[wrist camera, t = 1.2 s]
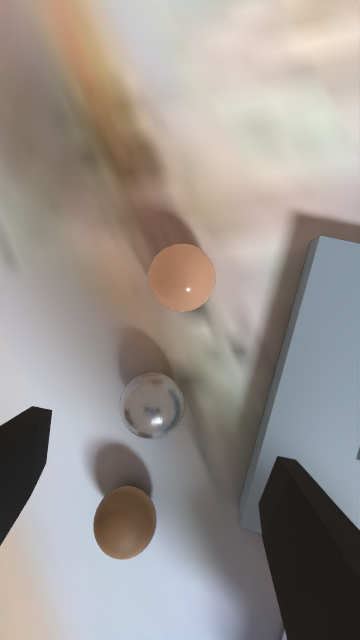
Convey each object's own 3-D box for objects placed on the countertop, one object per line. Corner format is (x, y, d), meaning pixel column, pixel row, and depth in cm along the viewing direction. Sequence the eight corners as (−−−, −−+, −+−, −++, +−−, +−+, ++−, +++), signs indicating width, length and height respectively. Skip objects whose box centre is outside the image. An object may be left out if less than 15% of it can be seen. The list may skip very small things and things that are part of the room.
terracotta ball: (208, 316, 21) (204, 321, 17) (150, 302, 21) (133, 303, 17) (223, 256, 20) (222, 246, 16) (163, 243, 21) (149, 230, 17)
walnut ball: (154, 535, 22) (140, 586, 18) (102, 517, 23) (76, 563, 19) (167, 483, 22) (155, 525, 18) (113, 466, 22) (89, 503, 18)
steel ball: (180, 430, 21) (170, 460, 18) (125, 414, 22) (103, 440, 18) (194, 374, 21) (187, 392, 17) (137, 359, 22) (118, 373, 18)
